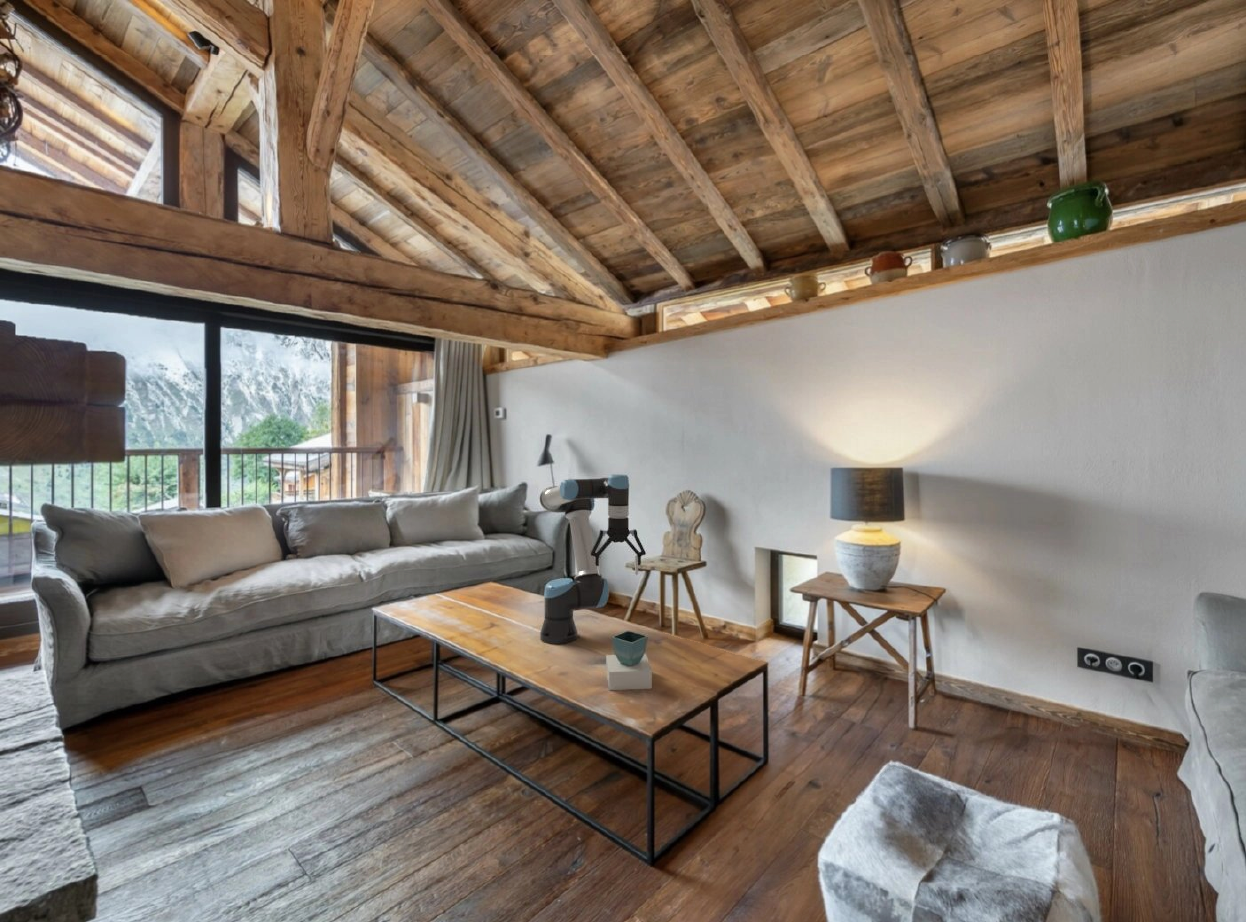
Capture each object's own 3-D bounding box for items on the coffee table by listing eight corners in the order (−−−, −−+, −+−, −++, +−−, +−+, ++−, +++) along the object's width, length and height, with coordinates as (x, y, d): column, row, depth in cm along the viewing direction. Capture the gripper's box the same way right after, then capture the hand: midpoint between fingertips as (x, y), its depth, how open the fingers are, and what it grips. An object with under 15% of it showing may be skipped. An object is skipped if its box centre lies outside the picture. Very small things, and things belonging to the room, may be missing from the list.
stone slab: (606, 672, 194) (606, 655, 194) (645, 670, 195) (645, 653, 195) (609, 690, 180) (609, 672, 180) (651, 688, 181) (651, 670, 181)
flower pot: (627, 655, 194) (627, 629, 193) (647, 661, 188) (648, 635, 188) (611, 663, 187) (611, 636, 187) (631, 670, 181) (632, 643, 181)
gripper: (584, 518, 198) (584, 577, 199) (653, 518, 201) (653, 576, 202) (583, 515, 206) (583, 572, 207) (650, 515, 208) (650, 571, 209)
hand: (618, 574), depth 204 cm, fingers open, 13 cm apart
